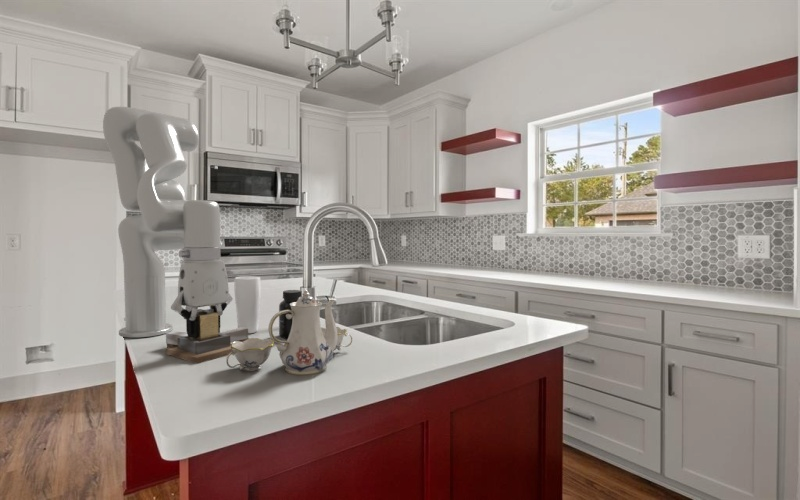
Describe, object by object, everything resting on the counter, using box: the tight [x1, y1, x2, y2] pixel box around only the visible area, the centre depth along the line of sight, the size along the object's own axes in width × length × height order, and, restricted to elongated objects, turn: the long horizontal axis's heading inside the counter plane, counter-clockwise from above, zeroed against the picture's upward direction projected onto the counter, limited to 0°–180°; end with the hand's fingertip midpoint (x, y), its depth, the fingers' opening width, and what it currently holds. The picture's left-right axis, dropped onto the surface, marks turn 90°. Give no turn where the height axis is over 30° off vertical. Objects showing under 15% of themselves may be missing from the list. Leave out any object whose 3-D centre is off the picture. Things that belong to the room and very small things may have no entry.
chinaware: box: [225, 289, 353, 376], centre depth 92 cm, size 28×17×17 cm, turn 134°
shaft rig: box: [165, 327, 250, 364], centre depth 104 cm, size 17×16×4 cm
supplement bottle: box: [278, 289, 303, 340], centre depth 115 cm, size 7×7×12 cm
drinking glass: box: [233, 275, 262, 335], centre depth 119 cm, size 7×7×15 cm
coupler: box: [190, 308, 219, 342], centre depth 100 cm, size 4×4×7 cm
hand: (204, 333), depth 100 cm, fingers open, 4 cm apart
